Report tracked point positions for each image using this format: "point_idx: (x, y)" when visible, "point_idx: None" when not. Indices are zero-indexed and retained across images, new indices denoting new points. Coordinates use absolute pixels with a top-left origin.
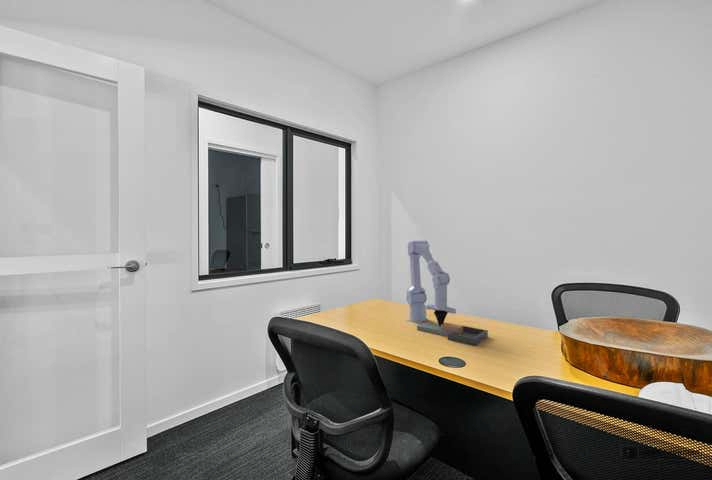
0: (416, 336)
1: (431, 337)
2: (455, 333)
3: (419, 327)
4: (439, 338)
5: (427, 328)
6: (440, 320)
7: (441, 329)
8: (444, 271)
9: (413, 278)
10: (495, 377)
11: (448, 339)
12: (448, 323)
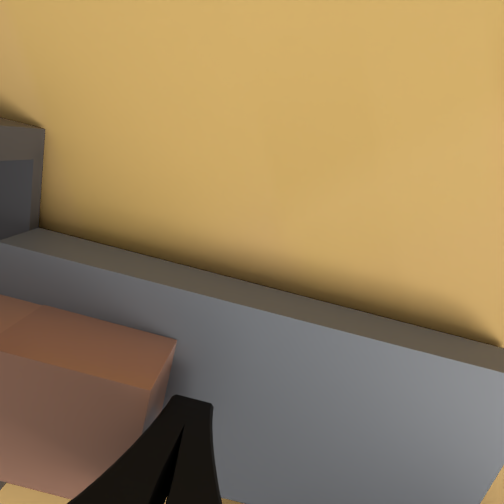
0: (485, 77)
1: (267, 134)
2: None
3: (498, 362)
4: (160, 141)
5: (373, 335)
6: (140, 468)
7: (165, 339)
8: None
9: None
10: None
11: (35, 128)
12: (58, 476)
